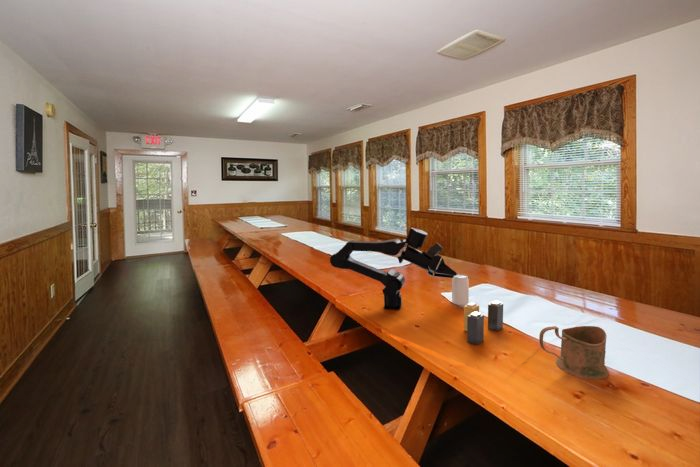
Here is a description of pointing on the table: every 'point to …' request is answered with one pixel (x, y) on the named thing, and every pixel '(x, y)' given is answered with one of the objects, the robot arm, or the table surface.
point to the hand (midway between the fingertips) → (454, 275)
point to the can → (460, 289)
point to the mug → (581, 351)
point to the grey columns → (477, 322)
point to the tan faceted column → (469, 312)
